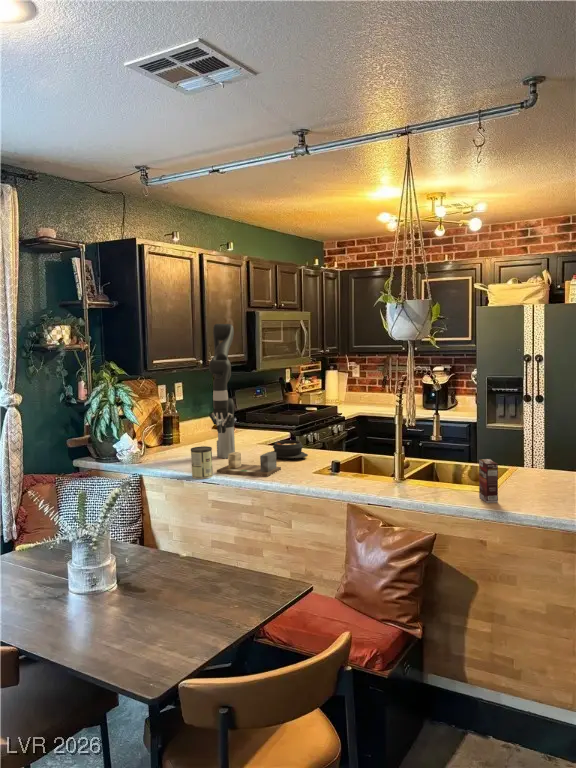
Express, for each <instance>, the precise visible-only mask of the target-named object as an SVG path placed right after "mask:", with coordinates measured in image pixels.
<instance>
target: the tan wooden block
mask: <svg viewBox="0 0 576 768" xmlns="http://www.w3.org/2000/svg"><path fill="white" fill-rule="evenodd" d="M227 459H228V465H229V467H228V469H230V468H235V469H236V468H238V467H240V466H241V464H242V452H240V451H239V452H237V451H235V452H233V453H230V454H228V458H227Z"/></svg>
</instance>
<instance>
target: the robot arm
mask: <svg viewBox="0 0 576 768" xmlns="http://www.w3.org/2000/svg"><path fill="white" fill-rule="evenodd" d="M234 331H235V330H234V326H233V324H230V323H215V324H214V325H213V330H212V335H213V347H214V348H213V351H214V356H212V359H211V360H210V362H209V364H208V371H209V373H210V374H213V376H214V379H213V380H212V386H213V393H212V394H213V395H212V400H213V402H212V403H213V406H212V407H213V411H212V413H209V415H208V416H209V418H210V419H211V421H212V423H213V425H216V429H217V430H216V432H217V440H216V458H219V459H228V454H230V453H233V452H236V449H235V418H234V417H235V414H234V413H235V412H234V411H235V404H234V403H235V402H234V400H233V398H231V397H229V393H228V382H229V381H230V378H231V376H232V365H231V362H230V359H229V358H228V357H229V350H230V347H231V346H232V343H233V340H234V336H235V335H234V334H235V332H234Z"/></svg>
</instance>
